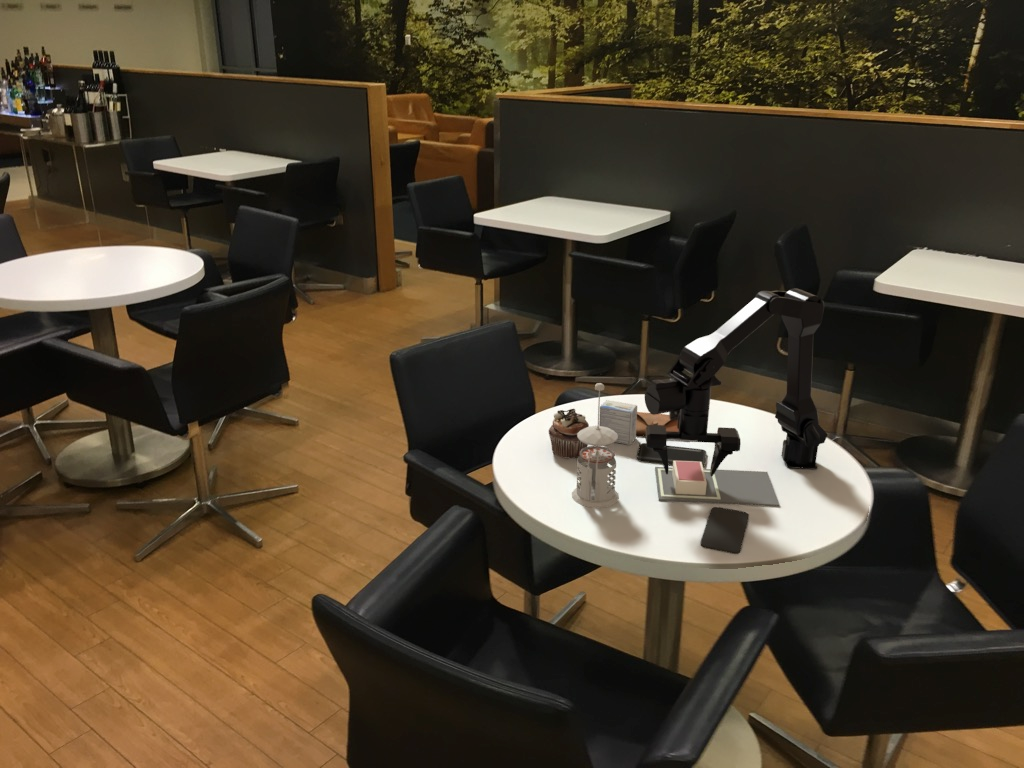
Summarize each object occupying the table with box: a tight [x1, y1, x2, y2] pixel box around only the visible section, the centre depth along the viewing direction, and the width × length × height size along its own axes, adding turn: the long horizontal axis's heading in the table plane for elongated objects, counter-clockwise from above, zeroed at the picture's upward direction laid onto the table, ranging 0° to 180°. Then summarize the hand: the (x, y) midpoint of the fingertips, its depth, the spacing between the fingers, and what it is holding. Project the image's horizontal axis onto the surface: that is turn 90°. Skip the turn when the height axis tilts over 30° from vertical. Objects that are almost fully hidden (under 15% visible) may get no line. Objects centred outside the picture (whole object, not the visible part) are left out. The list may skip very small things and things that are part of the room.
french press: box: [571, 382, 620, 509], centre depth 169 cm, size 10×12×25 cm
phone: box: [700, 506, 750, 555], centre depth 162 cm, size 7×1×15 cm
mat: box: [654, 466, 781, 507], centre depth 177 cm, size 24×14×1 cm, turn 84°
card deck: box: [672, 461, 707, 495], centre depth 177 cm, size 9×6×3 cm, turn 175°
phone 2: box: [636, 442, 707, 468], centre depth 190 cm, size 8×1×15 cm
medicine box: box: [599, 399, 638, 446], centre depth 197 cm, size 8×4×9 cm, turn 65°
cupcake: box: [548, 408, 590, 459], centre depth 191 cm, size 10×10×10 cm
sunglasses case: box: [636, 411, 679, 438], centre depth 203 cm, size 18×7×7 cm, turn 78°
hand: (689, 474), depth 177 cm, fingers open, 9 cm apart
